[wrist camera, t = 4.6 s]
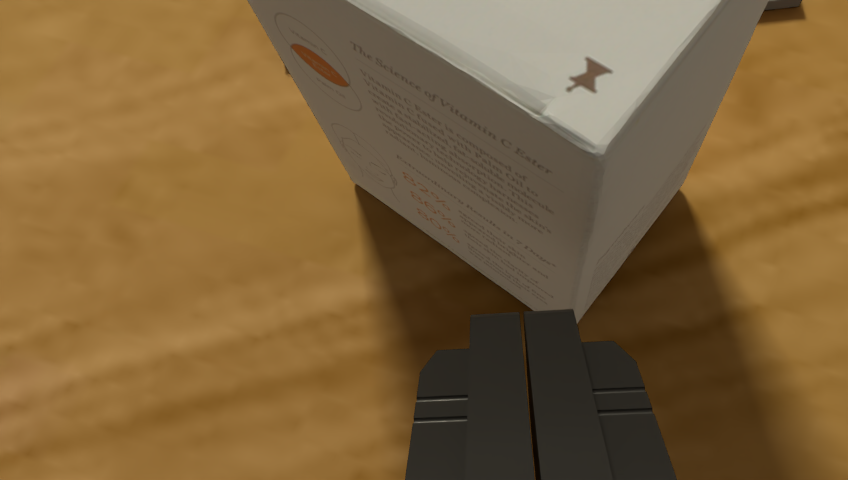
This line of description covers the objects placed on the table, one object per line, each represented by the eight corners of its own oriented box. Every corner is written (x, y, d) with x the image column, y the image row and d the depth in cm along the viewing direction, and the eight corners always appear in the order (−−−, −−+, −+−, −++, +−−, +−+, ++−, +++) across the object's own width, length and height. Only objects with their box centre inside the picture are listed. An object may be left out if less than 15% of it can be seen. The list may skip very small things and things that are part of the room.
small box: (685, 186, 19) (851, -134, 9) (566, 343, 18) (614, 165, 8) (461, 50, 22) (408, -312, 12) (345, 181, 21) (184, -99, 11)
